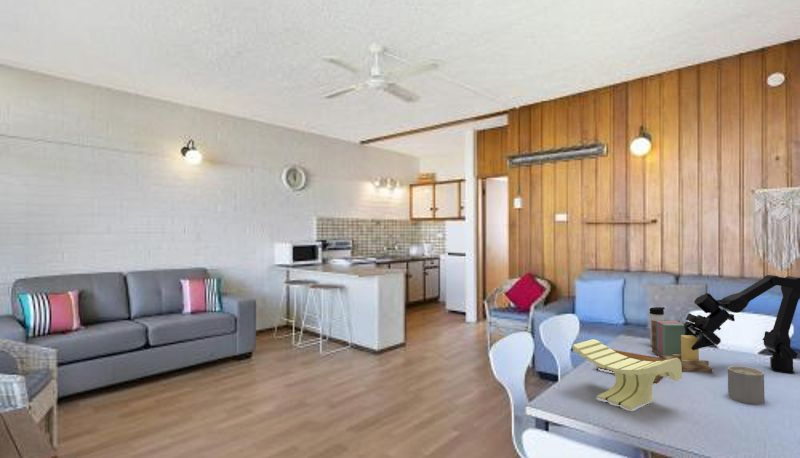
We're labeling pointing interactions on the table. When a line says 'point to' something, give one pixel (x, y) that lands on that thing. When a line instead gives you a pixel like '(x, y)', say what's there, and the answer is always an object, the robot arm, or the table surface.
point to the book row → (669, 337)
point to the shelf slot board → (679, 355)
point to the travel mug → (655, 317)
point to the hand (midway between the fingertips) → (686, 346)
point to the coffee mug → (746, 384)
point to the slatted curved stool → (628, 373)
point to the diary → (642, 358)
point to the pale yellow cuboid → (688, 348)
